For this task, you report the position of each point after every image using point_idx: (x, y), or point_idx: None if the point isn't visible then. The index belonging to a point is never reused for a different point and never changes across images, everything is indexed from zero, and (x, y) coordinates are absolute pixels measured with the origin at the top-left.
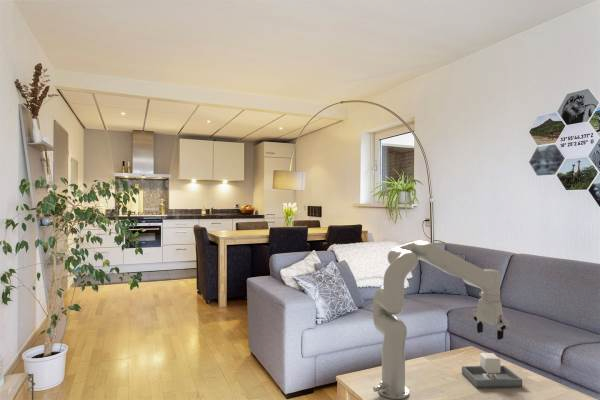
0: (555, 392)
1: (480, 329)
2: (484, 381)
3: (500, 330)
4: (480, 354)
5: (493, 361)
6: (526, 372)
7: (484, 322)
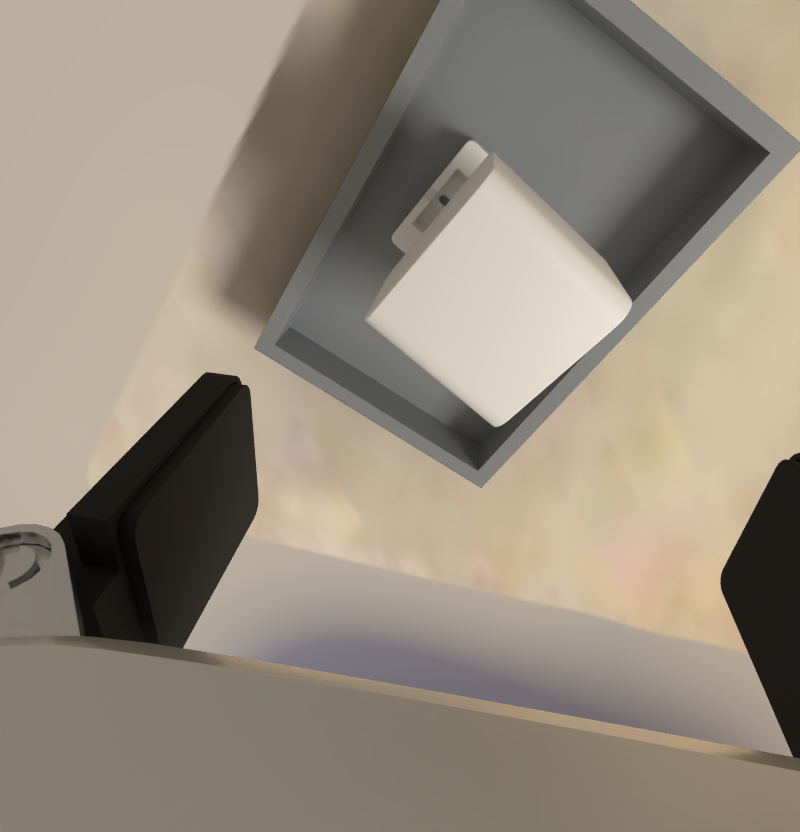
0: (139, 420)
1: (788, 567)
2: (441, 5)
3: (22, 545)
4: (626, 295)
5: (420, 251)
6: (390, 557)
7: (684, 740)
